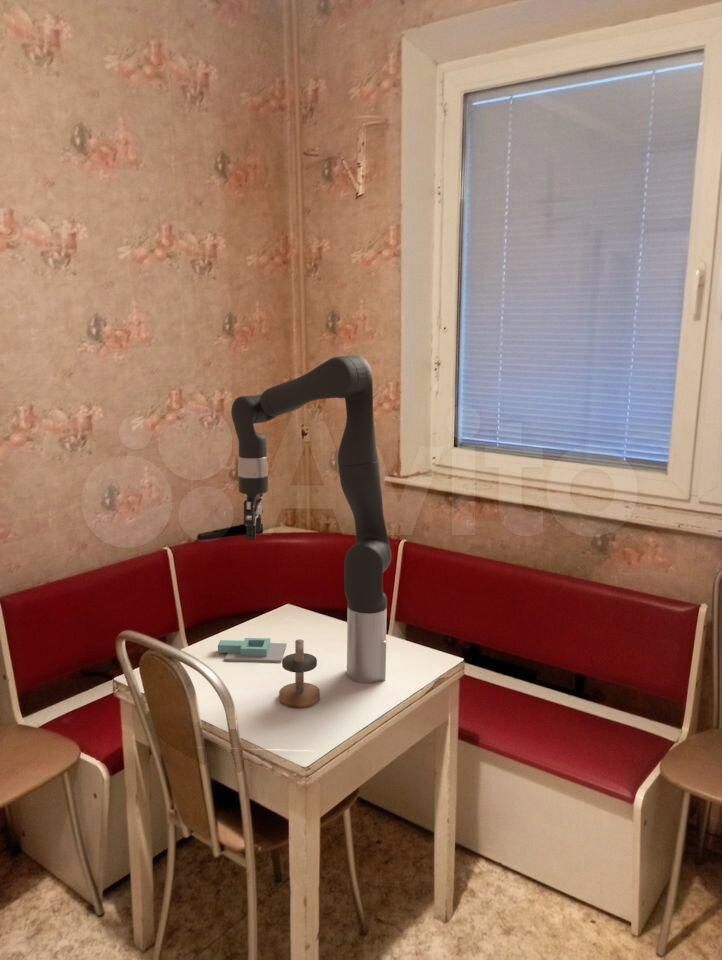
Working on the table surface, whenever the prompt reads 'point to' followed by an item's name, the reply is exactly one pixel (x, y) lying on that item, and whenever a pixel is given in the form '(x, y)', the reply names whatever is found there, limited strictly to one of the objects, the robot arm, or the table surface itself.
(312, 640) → the table surface
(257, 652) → the teal square frame paddle
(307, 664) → the stand
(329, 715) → the table surface
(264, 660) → the mat
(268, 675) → the table surface
